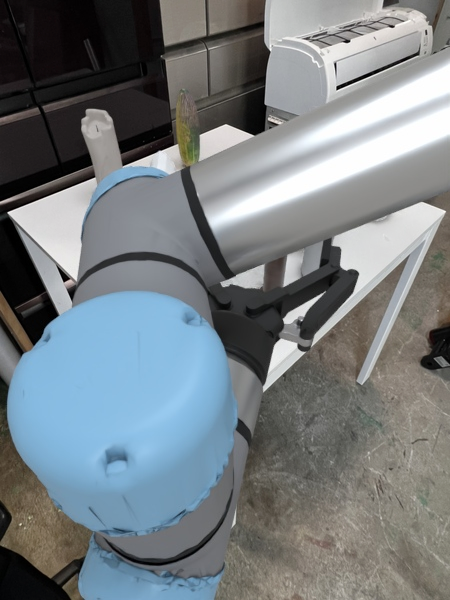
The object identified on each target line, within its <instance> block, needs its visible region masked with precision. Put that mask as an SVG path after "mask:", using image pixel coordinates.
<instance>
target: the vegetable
mask: <svg viewBox="0 0 450 600" xmlns="http://www.w3.org/2000/svg"><path fill="white" fill-rule="evenodd" d="M175 109H176V110H175V132H176V141H177V147H178V152H179V155H180V159H181V161H182V163H183V164H184V166H186V167H188V166H190V165H193V164H195V163H197V162H199V161H200V156H201V130H200V122H199V117H198V110H197V105H196V102H195V100H194V98H193V97H192V95H191V94H190V92H189V90H188V89H187V88H184V87H183V88H181V89H180V90H179V93H178V96H177V101H176V106H175Z"/></svg>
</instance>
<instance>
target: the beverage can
mask: <svg viewBox="0 0 450 600" xmlns="http://www.w3.org/2000/svg"><path fill="white" fill-rule="evenodd" d="M334 239H335V236H334V237H332V243H331V246H333V243H334ZM322 246H323V241H321V242H319V243H316V244H314V245H311V246H309V247H306V248H304V249H303V255H302V261H301V266H300V273H301V275H302V277H303V276H305V275H307V274H309V273H311V272H313V271H315V270H317V269H319V264H320V258H321V252H322Z"/></svg>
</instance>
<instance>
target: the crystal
mask: <svg viewBox="0 0 450 600" xmlns="http://www.w3.org/2000/svg"><path fill="white" fill-rule="evenodd" d="M149 167H154V168H157V169H160V170H162V171H164V172H166V173H168V174H169V175H170V174H172V173H174V172H177V168H176V164H175V163H174V161H173V160H172V158H170V156H169V155H168V153H166V152H164V151H161V150H158V151H157V152H156V153H155V154H154V155H153V156H152V158H151V161H150V164H149Z"/></svg>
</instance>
